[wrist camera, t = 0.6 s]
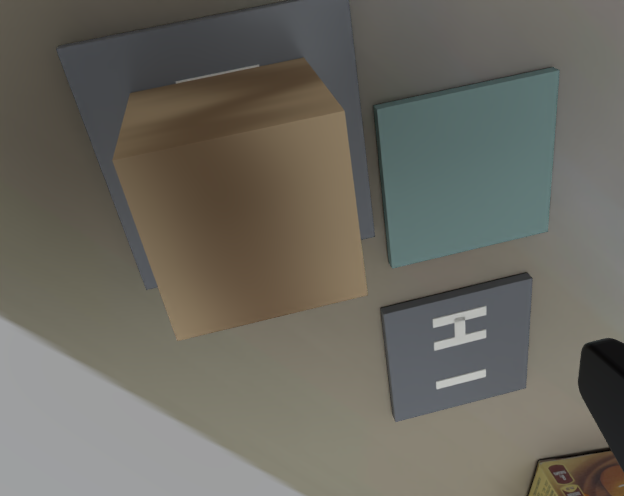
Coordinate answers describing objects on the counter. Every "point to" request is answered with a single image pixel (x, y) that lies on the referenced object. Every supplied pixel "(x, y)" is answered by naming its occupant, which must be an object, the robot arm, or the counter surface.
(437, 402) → the code tile
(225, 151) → the oak block
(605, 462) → the candy box
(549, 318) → the counter surface
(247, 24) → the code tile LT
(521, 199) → the rubber mat
